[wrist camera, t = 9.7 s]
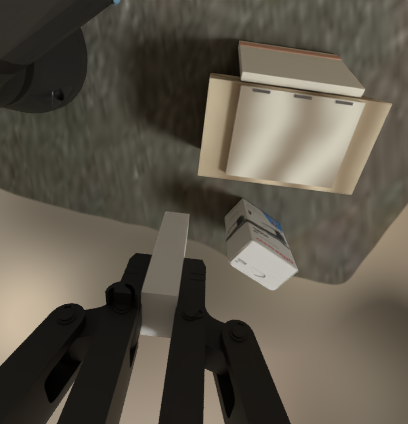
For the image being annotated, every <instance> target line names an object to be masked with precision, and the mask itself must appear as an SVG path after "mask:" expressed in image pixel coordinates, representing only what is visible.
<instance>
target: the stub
mask: <svg viewBox="0 0 408 424" xmlns="http://www.w3.org/2000/svg"><path fill="white" fill-rule="evenodd" d="M238 53H239V65H240V77H241V80H242V81H249V82H256V83H263V84H270V85H277V86H284V87H291V88H298V89H305V90H312V91H319V92H326V93H333V94H340V95H347V96H354V97H361V96H362V94H363V92H364V90H365V88H364V87H363V86H362V85H361V84H360V82H359V81H358V80H357V79H356V78H355V76H354V75H353V74H352V73H351V72H350V70H349V69H348V68H347V67H346V66H345V64H344V63H343V62H342V61H341V58H340V57H339V56H337V55H334V54H327V53H321V52H314V51H307V50H301V49H294V48H287V47H280V46H274V45H267V44H260V43H253V42H247V41H240V40H239V45H238Z"/></svg>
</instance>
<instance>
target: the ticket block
mask: <svg viewBox="0 0 408 424" xmlns="http://www.w3.org/2000/svg"><path fill="white" fill-rule="evenodd" d="M391 105H392V104H391V103H387V102H383V101H379V100H375V99H372V98H368V97H364V96H361V97H354V96H347V95H340V94H333V93H326V92H319V91H312V90H305V89H298V88H291V87H284V86H277V85H270V84H263V83H256V82H249V81H242V80H241V77H238V76H231V75H224V74H217V73H210V79H209V87H208V95H207V103H206V112H205V120H204V128H203V136H202V144H201V153H200V161H199V170H198V175H199V176H207V177H215V178H223V179H231V180H239V181H247V182H254V183H262V184H270V185H278V186H286V187H294V188H302V189H310V190H318V191H326V192H333V193H341V194H349V195H352V192H353V190H354V188H355V186H356V183H357V181H358V179H359V177H360V174H361V172H362V170H363V168H364V166H365V163H366V161H367V159H368V157H369V154H370V152H371V150H372V148H373V145H374V143H375V141H376V139H377V136H378V134H379V132H380V130H381V128H382V125H383V123H384V121H385V119H386V116H387V114H388V112H389V110H390V107H391Z"/></svg>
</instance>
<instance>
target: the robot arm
mask: <svg viewBox="0 0 408 424" xmlns="http://www.w3.org/2000/svg"><path fill="white" fill-rule="evenodd" d="M119 2H120V0H0V107H2V108H7V109H11V110H16V111H20V112H25V113H45V112H49V111H52V110H55V109H58V108H61V107H63V106H65V105H67V104H68V103H70V102H71V101H72V100H73V99H74V98H75V97H76V96H77V94H78V93H79V91H80V90H81V88H82V86H83V83H84V80H85V77H86V72H87V50H86V44H85V40H84V37H83V33H82V31H81V28H80V27H81V26H83V25H84V24H85V23H87V22H88V21H89V20H91V19H92V18H93V17H95V16H96V15H97V14H99V13H100V12H101V11H103V10H104V9H105V8H106V7H108V6H109V5H110V4H112V3H113V5H114V6H116V5H117V4H118V3H119ZM189 215H190V214H185V213H176V212H168V211H165V214H164V217H163V221H162V224H161V227H160V231H159V234H158V238H157V241H156V244H155V248H154V251H153V254H152V255H149V254H140V253H136V254H135V255H133V256H132V257H131V258H130V259H129V262H128V264H127V268H126V269H125V273H124V274H123V277H122V279H121V281H120V282H116V283H113V284H112V285H110V286H109V287H108V288H107V290H106V291H105V294H106V305H104V306H102V307H98V308H94V309H88V310H84V309H83V307H82V306H80V305H78V304H74V303H70V304H64V305H62V306H60V307H58V308H56V309H55V310H54V311H52V312H51V313H50V314H49V316H48V317H47V318H46V319H45V320H44V321H43V322H42V323H41V324H40V325H39V326H38V327H37V328H36V329H35V330H34V331H33V333H32V334H31V335H29V337H28V338H27V339H26V340H25V341H24V342H23V343H22V344H21V345H20V346H19V347H18V348H17V349H16V350H15V351H14V352H13V353H12V354H11V355H10V356H9V357H8V359H7V360H6V361H5V362H4V363H3V364H2V365H1V366H0V424H46V423H47V421H48V420H49V418H50V417H51V415H52V414H53V412H54V411H55V409H56V408H57V406H58V405H59V403H60V402H61V400H62V399H63V397H64V396H65V394H66V393H67V391H68V390H69V388H70V387H71V385H72V384H73V383H74V384H73V386H72V389H71V391H70V394H69V396H68V398H67V401H66V403H65V406H64V408H63V410H62V413H61V415H60V418H59V420H58V422H57V424H119V421H120V417H121V413H122V409H123V405H124V401H125V397H126V393H127V389H128V385H129V381H130V377H131V373H132V369H133V365H134V361H135V357H136V353H137V349H138V338H139V334H140V331H141V335H149V336H158V337H168V338H171V342H170V349H169V355H168V362H167V369H166V375H165V382H164V389H163V396H162V403H161V410H160V416H159V423H158V424H203V410H204V371H205V370H204V369H207V370H209V371H212V372H213V375H214V380H215V384H216V388H217V392H218V397H219V401H220V405H221V410H222V414H223V418H224V422H225V424H291V423H290V421H289V418H288V416H287V413H286V411H285V409H284V406H283V404H282V401H281V399H280V396H279V394H278V392H277V389H276V386H275V384H274V382H273V379H272V377H271V374H270V372H269V369H268V367H267V364H266V362H265V360H264V357H263V355H262V352H261V350H260V347H259V345H258V342H257V340H256V337H255V335H254V333H253V331H252V329H251V328H250V327H249V325H247V324H246V323H245V322H243V321H240V320H230V321H227V322H226V323H223V322H220V321H218V320H216V319H214V318H213V317H211V316H210V315H209V314H208V312H207V310H206V308H205V280H206V266H205V264H204V262H203V261H202V260H198V259H190V258H184V257H185V249H186V241H187V232H188V223H189ZM74 381H75V382H74Z"/></svg>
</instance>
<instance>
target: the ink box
mask: <svg viewBox="0 0 408 424" xmlns="http://www.w3.org/2000/svg"><path fill="white" fill-rule="evenodd" d="M225 229H226V242H227V256H228V262H229V263H230V264H231V266H233V267H234V268H236V269H238V270H239V271H241V272H242V273H244V274H246V275H247V276H249V277H250V278H252V279H253V280H255V281H257V282H259V283H260V284H261V285H263V286H264V287H266V288H268V289H269V290H276V289H277V288H279V287H280V286H281V285H282V284H284V283H285V282H286V281H287V280H288V279H290V278H291V277H292V276H293V275H295V274H296V273H297V272H298V269H297V266H296V264H295V261H294V259H293V256H292V254H291V251H290V249H289V246H288V244H287V241H286V239H285V236H284V234H283V231H282V229H281V226H280V224H279V223H278V222H276V221H275V220H273V219H272V218H270V217H269V216H267V215H266V214H265V213H263V212H262V211H260V210H259V209H257V208H256V207H255V206H253V205H252V204H250V203H249V202H247V201H246V200H244V199H243V198H242V199H241V200H240V201H239V202H238V203H237V204H236V205H235V206H234V207H233V208H232V209H231V211H230V212H229V213H228V214H227V215H226V216H225Z"/></svg>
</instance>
